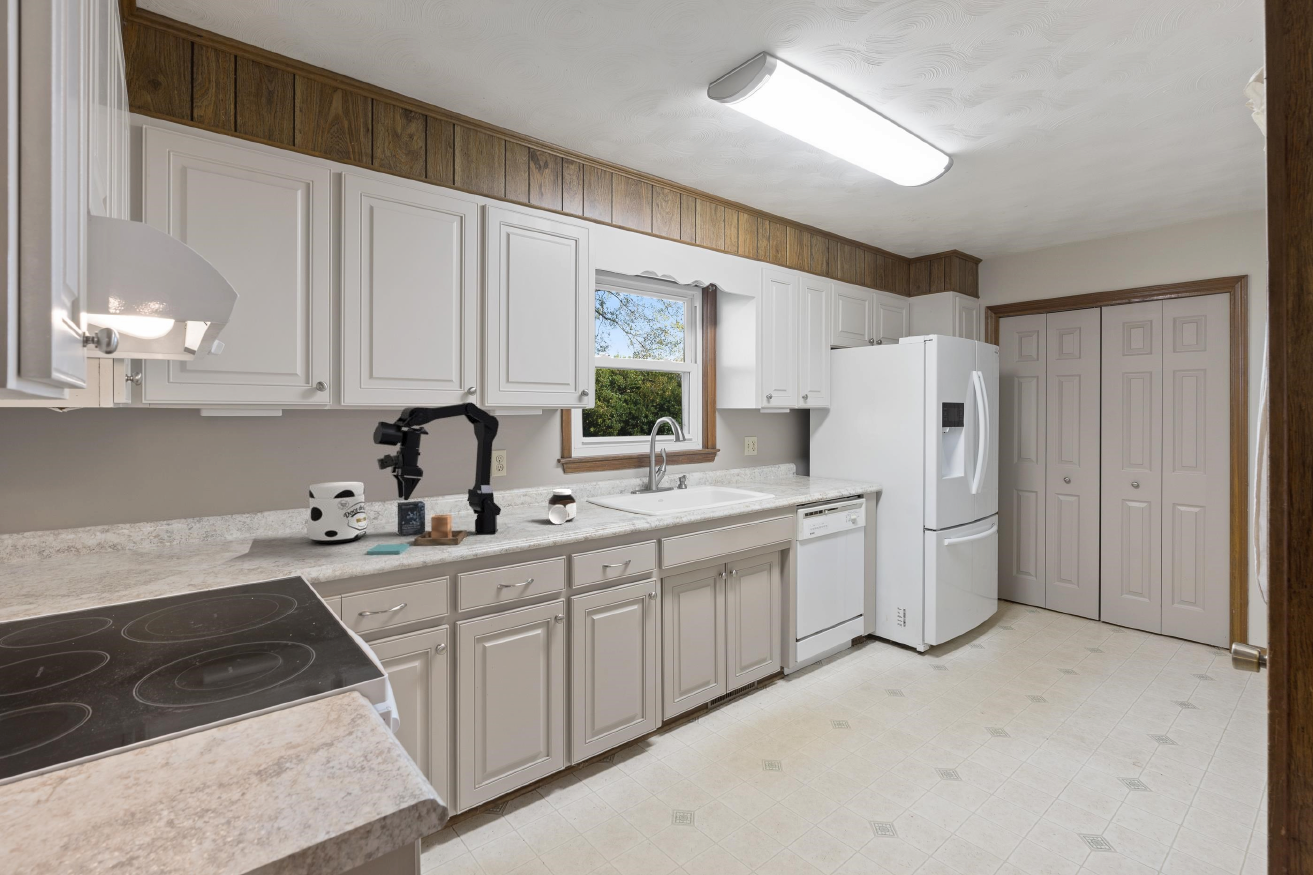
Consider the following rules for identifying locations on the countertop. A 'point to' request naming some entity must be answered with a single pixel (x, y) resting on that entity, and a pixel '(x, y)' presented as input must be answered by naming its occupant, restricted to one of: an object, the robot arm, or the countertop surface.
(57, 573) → the countertop surface
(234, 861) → the countertop surface
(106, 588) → the countertop surface
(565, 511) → the spread jar
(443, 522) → the block
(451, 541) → the pocket frame
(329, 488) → the milk container
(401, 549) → the plate
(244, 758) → the countertop surface
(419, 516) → the box
